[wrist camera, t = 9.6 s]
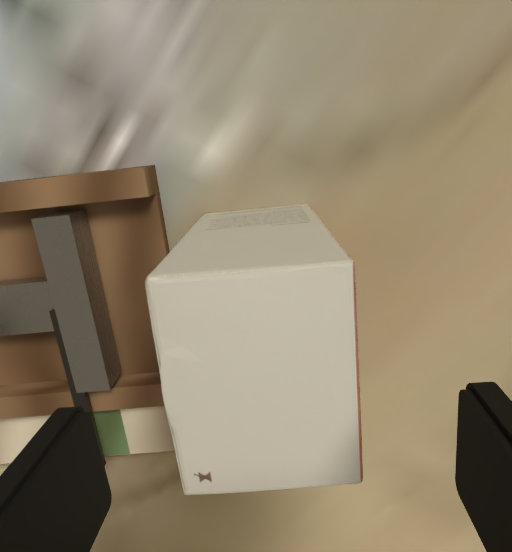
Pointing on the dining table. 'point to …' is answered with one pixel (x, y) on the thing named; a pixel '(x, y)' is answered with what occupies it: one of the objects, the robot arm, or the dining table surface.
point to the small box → (259, 353)
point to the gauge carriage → (66, 306)
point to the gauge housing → (120, 301)
